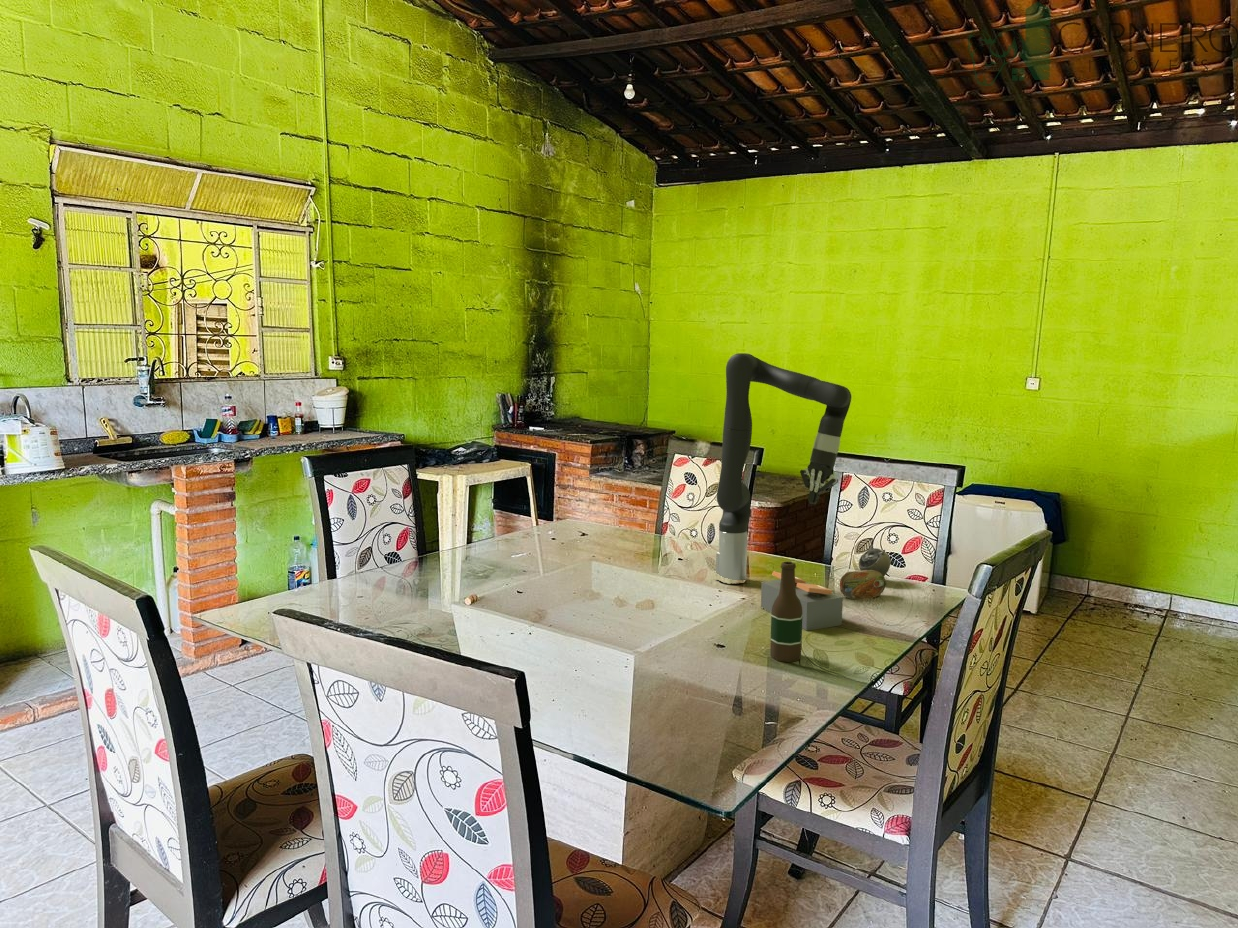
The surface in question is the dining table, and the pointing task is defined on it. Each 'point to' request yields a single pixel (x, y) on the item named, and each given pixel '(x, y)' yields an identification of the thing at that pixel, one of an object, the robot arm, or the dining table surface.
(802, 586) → the orange flat board
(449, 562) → the dining table surface
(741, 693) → the dining table surface
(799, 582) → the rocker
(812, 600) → the switch box
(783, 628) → the beer bottle
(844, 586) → the tin
